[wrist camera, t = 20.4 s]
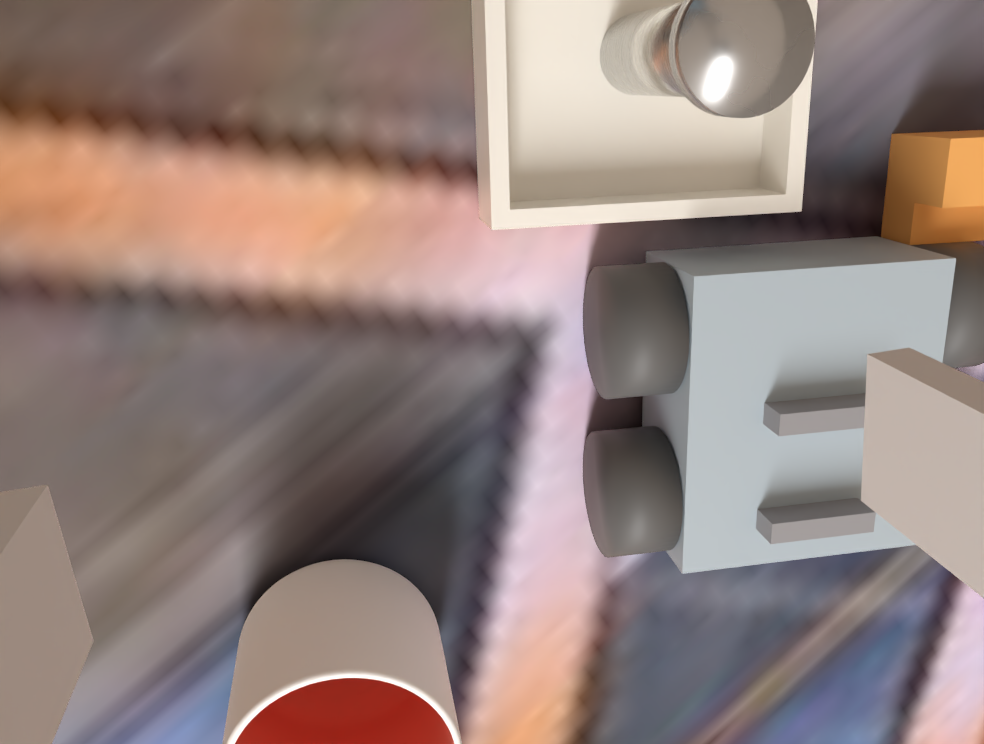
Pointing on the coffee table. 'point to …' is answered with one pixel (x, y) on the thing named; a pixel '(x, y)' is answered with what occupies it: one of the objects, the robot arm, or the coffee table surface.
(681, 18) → the pin
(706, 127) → the tray
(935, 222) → the block
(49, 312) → the coffee table surface
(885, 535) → the trolley
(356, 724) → the cup
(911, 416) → the robot arm
